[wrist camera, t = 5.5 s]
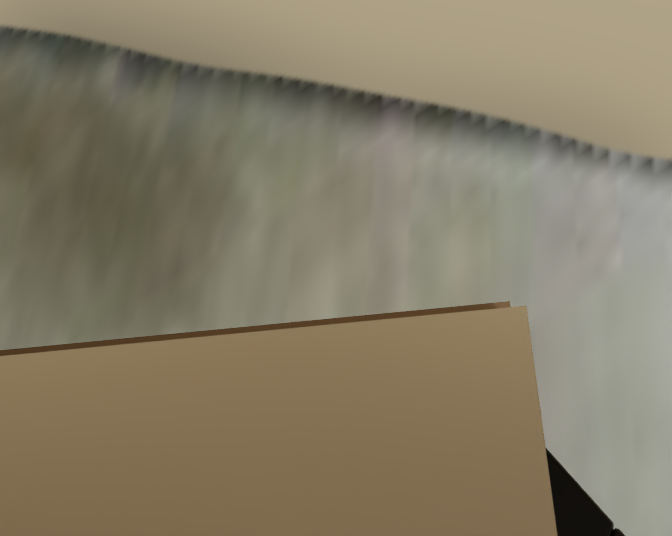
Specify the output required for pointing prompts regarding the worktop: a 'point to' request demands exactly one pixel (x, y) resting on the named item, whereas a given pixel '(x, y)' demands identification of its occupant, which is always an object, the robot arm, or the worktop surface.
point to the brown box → (281, 431)
